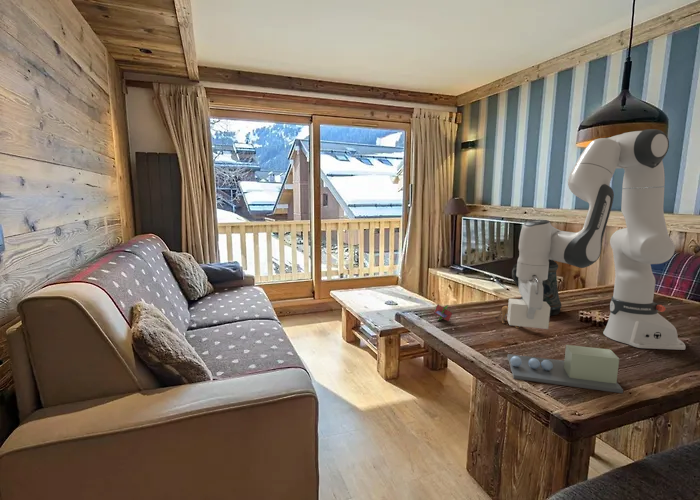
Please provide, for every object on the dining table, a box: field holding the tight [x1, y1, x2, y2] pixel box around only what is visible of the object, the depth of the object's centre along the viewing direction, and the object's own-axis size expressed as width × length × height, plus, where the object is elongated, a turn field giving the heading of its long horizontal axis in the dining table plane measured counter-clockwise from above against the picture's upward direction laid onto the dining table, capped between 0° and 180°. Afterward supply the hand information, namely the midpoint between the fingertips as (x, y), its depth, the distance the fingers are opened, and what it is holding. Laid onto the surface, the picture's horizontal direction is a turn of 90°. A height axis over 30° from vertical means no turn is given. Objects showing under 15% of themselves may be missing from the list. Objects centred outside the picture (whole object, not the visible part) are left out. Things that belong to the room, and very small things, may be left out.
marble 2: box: [528, 358, 540, 369], centre depth 105 cm, size 3×3×3 cm
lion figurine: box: [494, 305, 523, 330], centre depth 142 cm, size 15×5×9 cm, turn 36°
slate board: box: [507, 353, 624, 394], centre depth 104 cm, size 26×14×1 cm, turn 73°
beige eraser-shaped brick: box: [506, 298, 550, 330], centre depth 115 cm, size 11×6×7 cm, turn 73°
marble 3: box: [541, 360, 553, 371], centre depth 104 cm, size 3×3×3 cm
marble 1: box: [510, 356, 522, 367], centre depth 106 cm, size 3×3×3 cm
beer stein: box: [511, 259, 562, 317], centre depth 158 cm, size 16×19×25 cm
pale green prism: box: [563, 344, 620, 384], centre depth 100 cm, size 11×6×7 cm, turn 73°
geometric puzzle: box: [433, 304, 453, 323], centre depth 146 cm, size 7×7×8 cm
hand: (528, 314), depth 115 cm, fingers closed on beige eraser-shaped brick, 6 cm apart
